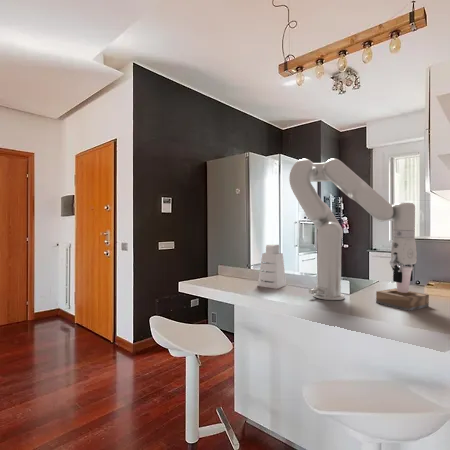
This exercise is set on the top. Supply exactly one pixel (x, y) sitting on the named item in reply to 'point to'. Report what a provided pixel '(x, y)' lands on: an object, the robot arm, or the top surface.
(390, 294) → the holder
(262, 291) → the top surface
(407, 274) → the smoothie
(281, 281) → the grater
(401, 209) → the robot arm
